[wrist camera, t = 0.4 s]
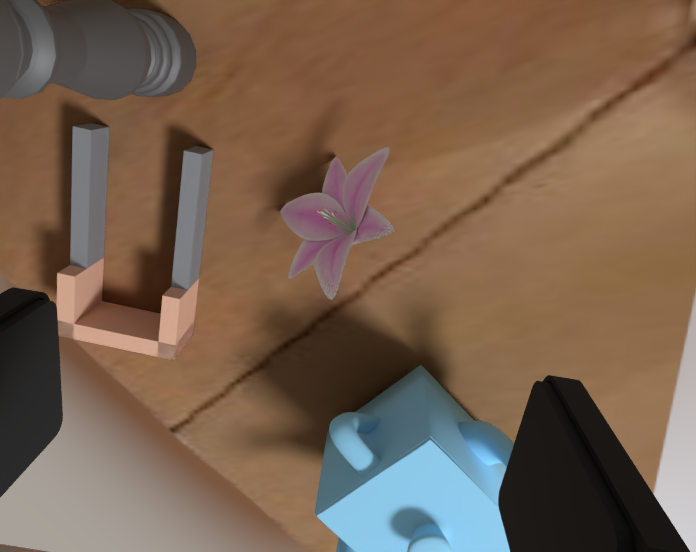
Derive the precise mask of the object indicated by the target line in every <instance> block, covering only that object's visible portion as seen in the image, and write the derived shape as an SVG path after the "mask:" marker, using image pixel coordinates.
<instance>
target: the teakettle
mask: <svg viewBox="0 0 696 552" xmlns="http://www.w3.org/2000/svg"><path fill="white" fill-rule="evenodd" d="M513 446H514V443H513V442H512V440H511V439H510V438H509V437H508V436H506V435H505V434H504V433H503V432H502V431H501V430H500V429H498V428H497V427H495V426H493V425H492V424H490V423H487V422H483V421H474V420H473V419H472V418H471V416H470V415H469V414H468V413H467V412H466V411H465V410H464V409H463V408H462V407H461V406H460V405H459V404H458V403H457V402H456V401H455V400H454V399H453V397H452V396H451V395H450V394H449V393H448V392H447V391H446V390H445V389H444V388H443V387H442V386H441V385H440V384H439V383H438V382H437V381H436V380H435V379H434V377H433V376H432V375H431V374H430V373H429V372H428V371H427V370H426V369H425V368H424V367H423V366H422V365H419V366H418V367H416V368H415V369H414V370H412V371H411V372H409V373H408V374H407V375H405V376H404V377H403V378H401V379H400V380H398V381H397V382H396V383H394V384H393V385H392V386H390V387H389V388H387V389H386V390H385V391H383V392H382V393H380V394H379V395H378V396H376V397H375V398H373V399H372V400H371V401H369V402H368V403H367V404H365V405H364V406H363V407H361V408H360V409H358V410H357V411H356V412H346V413H342V414H340V415H338V416H336V417H335V418H334V419H333V420H332V421H331V423H330V426H329V431H328V432H327V437H326V444H325V450H324V457H323V463H322V469H321V476H320V482H319V489H318V495H317V501H316V508H315V515H316V516H317V517H318V518H319V519H320V520H321V521H322V522H323V523H324V524H325V525H326V526H328V527H329V528H330V529H331V530H332V531H333V532H334V533H335V534H336V535H337V536H338V537H339V538H338V545H337V551H336V552H510V549H509V545H508V542H507V538H506V534H505V530H504V526H503V523H502V519H501V515H500V511H499V506H498V496H499V490H500V486H501V483H502V480H503V477H504V474H505V471H506V468H507V465H508V462H509V458H510V455H511V452H512V449H513Z"/></svg>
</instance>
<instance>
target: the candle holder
mask: <svg viewBox="0 0 696 552" xmlns="http://www.w3.org/2000/svg"><path fill="white" fill-rule="evenodd" d="M195 68H196V49H195V47H194V44H193V42H192V39H191V37H190V34H189V33H188V32H187V31H186V30H185V29H184V27H183V26H182V25H181V24H180V23H179V22H178V21H176V20H174V19H173V18H171V17H169V16H167V15H165V14H162V13H159V12H155V11H151V10H148V9H136V8H129V9H126V8H125V7H123V6H121V5H119V4H117V3H115V2H113V1H111V0H69V1H65V2H61V3H57V4H53V5H48V6H43V5H41V4H40V3H39V2H38V1H37V0H0V98H1V97H6V98H19V99H22V98H26V97H29V96H31V95H34V94H36V93H39V92H41V91H43V90H44V89H45V88H46V87H47V86H48V85H49V83H55V84H58V85H61V86H63V87H66V88H68V89H71V90H74V91H76V92H79V93H81V94H84V95H86V96H89V97H91V98H94V99H104V100H117V99H120V98H122V97H125V96H128V95H130V94H134V95H136V96H146V97H157V96H168V95H171V94H173V93H176V92H179V91H181V90H182V89H183V88H184V87H185V86H186V85H187V84H188V83H189V82H190V81H191V79H192V76H193V73H194V71H195Z"/></svg>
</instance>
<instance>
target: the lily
mask: <svg viewBox="0 0 696 552" xmlns="http://www.w3.org/2000/svg"><path fill="white" fill-rule="evenodd" d="M388 154H389V148H386V147H385V148H383V149H381V150H379V151H377V152H375V153H374V154H372V155H370V156H369V157H367V158H366V159H364V160H363V161H361V162H360V163H359V164H358V165H356V166H355V167H354V168H353V169H352V170H351V171H350V172H349V174H348V175H347V173H346V171H345V169H344V167H343V165H342V163H341V161H340V160H339V158H338V157H335V158H334V159H333V160H332V162H331V164H330V166H329V169H328V172H327V174H326V177H325V181H324V184H323V189H322V193H310V194H306V195H303V196H301V197H298V198H296V199H294V200H292V201H290V202H288V203H287V204H286V205H284V207H283V208H282V209H281V213H280V214H281V216H282V218H283V220H284V221H285V223H286V224H287V225H288V226H289V228H290V229H291V230H292V231H293V232H294V233H295V234H296V235H298V236H299V237H301V238H303V239H304V240H303V242H302V244H301V246H300V247H299V249H298V251H297V253H296V255H295V258H294V260H293V263H292V265H291V268H290V271H289V279H291V278H293V277H295V276H296V275H298V274H299V273H301V272H303V271H304V270H306V269H307V268H309V267H310V266H312V265H313V264H314V268H315V271H316V275H317V278H318V280H319V283H320V285H321V287H322V289H323V291H324V293H325V294H326V296H327V297H328V299H331V300H333V298H334V297H335V296H336V293H337V290H338V287H339V283H340V280H341V276H342V273H343V269H344V266H345V262H346V259H347V257H348V254H349V251H350V248H351V246H352V245H353V244H358V243H362V242H366V241H370V240H374V239H377V238H380V237H383V236H386V235H389V234H391V233H392V232H393V231H394V227H393V226H392V224H391V223H390V222H389V221H388V220H387V219H386V218H385V217H384V216H383V215H382V214H380V213H379V212H378V211H377V210H375V209H374V208H372V207H371V206H368V205H367V204H368V201H369V198H370V195H371V193H372V190H373V187H374V185H375V182H376V180H377V178H378V176H379V174H380V172H381V170H382V168H383V166H384V163H385V161H386V159H387V157H388Z"/></svg>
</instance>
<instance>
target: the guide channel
mask: <svg viewBox="0 0 696 552" xmlns="http://www.w3.org/2000/svg"><path fill="white" fill-rule="evenodd" d="M108 148H109V127H108V126H103V125H98V124H94V123H89V124H83V125H77V126H73V137H72V193H71V250H70V265H69V266H68V267H66V268H65V269H63V270H61V271H60V272H58V273H57V316H58V336H63V337H67V338H72V339H77V340H81V341H86V342H91V343H95V344H100V345H105V346H110V347H114V348H119V349H124V350H128V351H133V352H138V353H143V354H147V355H152V356H157V357H161V358H166V359H171V360H174V359H175V358H176V357H177V355H178V354H179V352H180V351H181V350H182V348H183V347H184V346H185V344H186V343H187V342H188V340H189V339H190V337H191V336H192V335H193V328H194V319H195V310H196V301H197V292H198V283H199V274H200V265H201V257H202V248H203V239H204V230H205V221H206V212H207V203H208V194H209V185H210V177H211V168H212V159H213V149H208V148H204V147H199V146H195V147H192V148H189V149H187V150H184V155H183V166H182V176H181V187H180V198H179V209H178V219H177V230H176V241H175V252H174V263H173V273H172V284H171V287H170V288H169V289H168V290H167V291H166V292H165V293H164V294H163V295H162V306H161V314H160V313H155V312H151V311H146V310H141V309H137V308H132V307H127V306H123V305H118V304H113V303H108V302H104V301H102V291H103V267H104V243H105V219H106V195H107V172H108Z"/></svg>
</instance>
